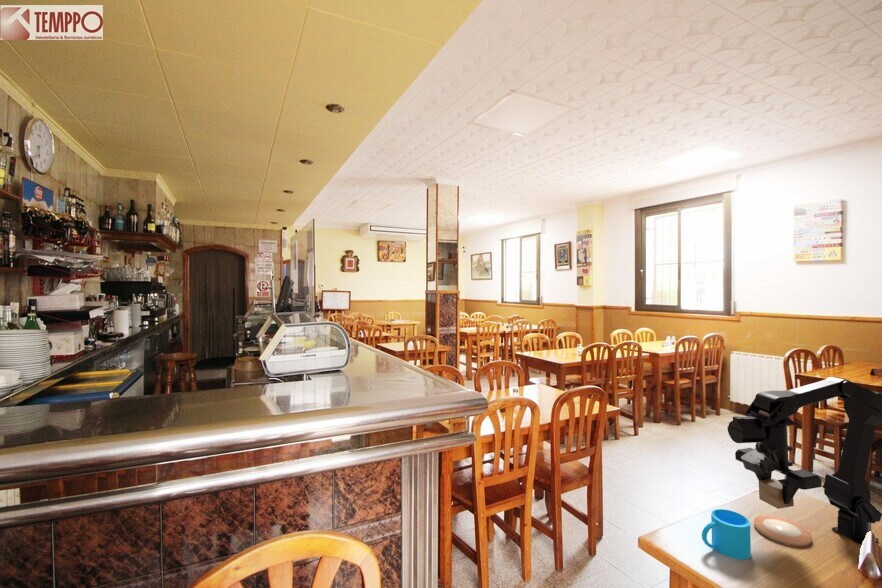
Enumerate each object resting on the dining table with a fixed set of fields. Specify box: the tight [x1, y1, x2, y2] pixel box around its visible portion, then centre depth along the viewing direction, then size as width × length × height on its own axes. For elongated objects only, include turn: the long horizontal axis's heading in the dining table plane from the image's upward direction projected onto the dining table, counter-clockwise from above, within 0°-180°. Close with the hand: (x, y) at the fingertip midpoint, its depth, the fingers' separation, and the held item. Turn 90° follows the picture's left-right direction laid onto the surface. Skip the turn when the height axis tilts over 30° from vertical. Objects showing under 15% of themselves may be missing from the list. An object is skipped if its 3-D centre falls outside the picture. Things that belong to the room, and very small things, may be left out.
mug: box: [701, 508, 752, 560], centre depth 102 cm, size 12×8×8 cm
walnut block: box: [758, 478, 795, 510], centre depth 106 cm, size 5×5×5 cm
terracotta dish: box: [753, 514, 813, 548], centre depth 108 cm, size 12×12×1 cm
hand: (776, 498), depth 106 cm, fingers closed on walnut block, 5 cm apart
